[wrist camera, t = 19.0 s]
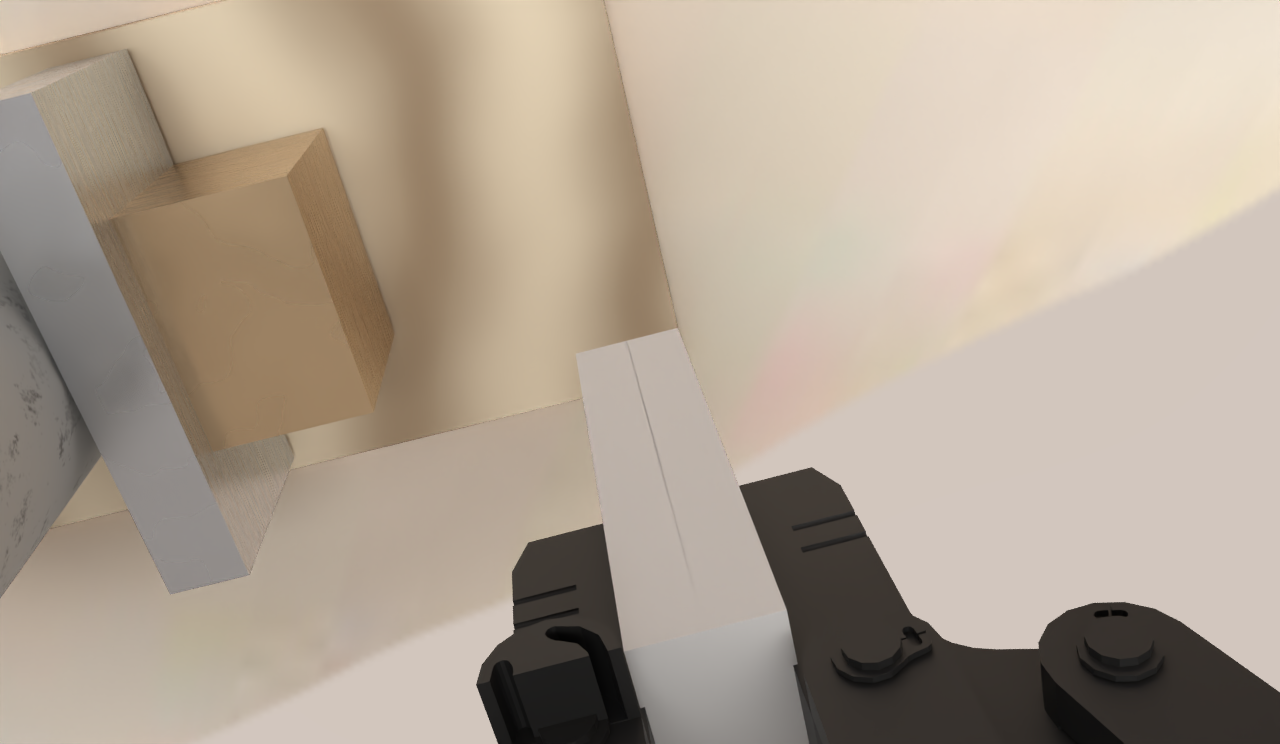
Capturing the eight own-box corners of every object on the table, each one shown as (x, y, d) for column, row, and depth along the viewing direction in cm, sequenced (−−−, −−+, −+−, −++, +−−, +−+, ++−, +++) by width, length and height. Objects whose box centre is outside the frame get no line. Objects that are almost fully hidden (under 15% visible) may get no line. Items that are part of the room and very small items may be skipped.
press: (-203, 576, 34) (-367, 737, 28) (-472, 171, 29) (-752, 257, 22) (683, 359, 34) (720, 471, 28) (582, -89, 29) (599, -76, 22)
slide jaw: (228, 474, 33) (170, 594, 27) (48, 67, 28) (-66, 117, 22) (426, 425, 33) (407, 536, 27) (282, 10, 28) (224, 45, 22)
